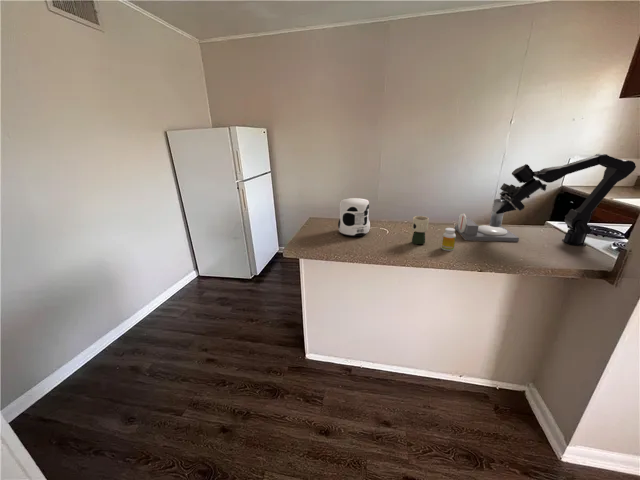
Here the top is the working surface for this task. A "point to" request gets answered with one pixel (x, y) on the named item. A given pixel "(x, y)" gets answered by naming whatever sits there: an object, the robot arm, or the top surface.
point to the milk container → (354, 217)
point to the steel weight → (497, 218)
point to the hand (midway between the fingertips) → (494, 211)
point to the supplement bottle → (448, 239)
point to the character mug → (419, 229)
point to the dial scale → (482, 231)
